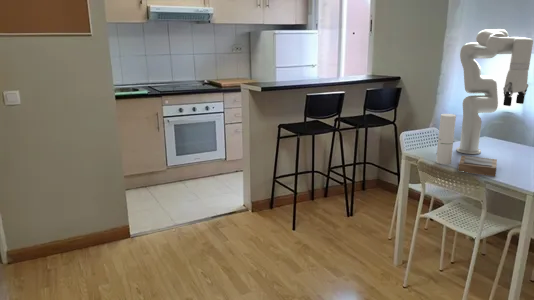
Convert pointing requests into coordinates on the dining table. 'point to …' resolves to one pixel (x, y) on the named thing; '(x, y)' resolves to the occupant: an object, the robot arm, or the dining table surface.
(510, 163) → the dining table surface
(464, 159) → the walnut base
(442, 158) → the cylindrical container
